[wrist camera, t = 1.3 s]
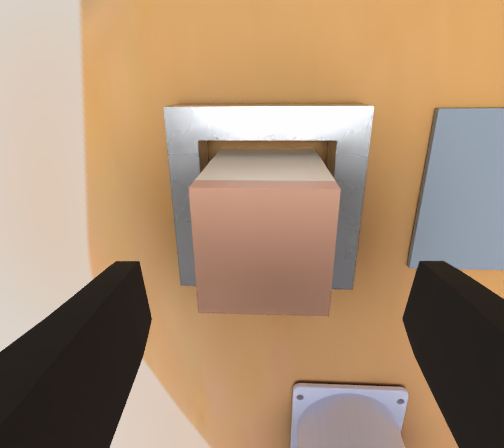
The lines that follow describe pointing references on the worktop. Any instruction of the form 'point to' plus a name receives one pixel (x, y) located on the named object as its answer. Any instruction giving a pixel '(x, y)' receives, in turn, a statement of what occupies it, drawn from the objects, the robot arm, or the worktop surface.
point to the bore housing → (272, 128)
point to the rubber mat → (462, 191)
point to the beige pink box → (264, 232)
